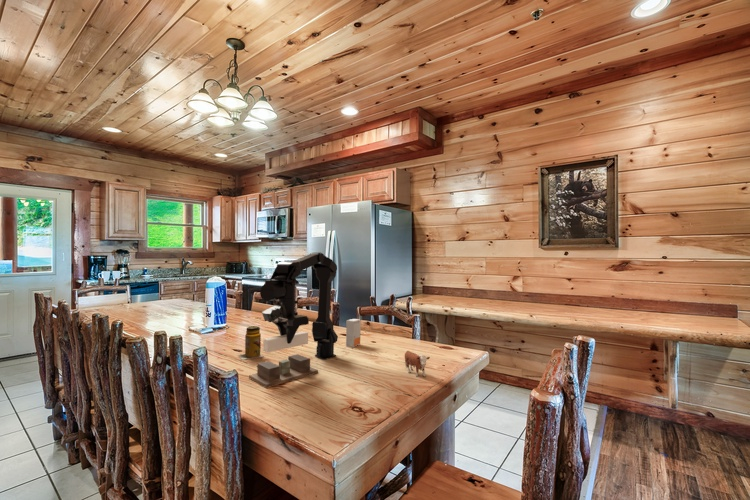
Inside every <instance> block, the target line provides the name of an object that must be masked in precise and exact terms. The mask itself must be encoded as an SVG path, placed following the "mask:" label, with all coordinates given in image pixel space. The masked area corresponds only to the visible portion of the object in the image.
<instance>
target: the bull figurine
mask: <svg viewBox="0 0 750 500" xmlns="http://www.w3.org/2000/svg"><path fill="white" fill-rule="evenodd" d="M430 358H431V357H430V356H426V355H425V354H416V353H415V352H412V351H409V350H406V352H405V353H404V360H405V361H404V365H405V368H406V369H407V373H408V374H411V371H414V369H413V368H415V371H416V373H415V377H417V378H418V377H419V370H420V371H422V376H423V377H424V378H426V377H427V375H426V372H425V371H426V370H425V368H426V367H425V366H426V365H427V364H426V363H427V360H429V359H430Z"/></svg>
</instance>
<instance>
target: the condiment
mask: <svg viewBox="0 0 750 500" xmlns="http://www.w3.org/2000/svg"><path fill="white" fill-rule="evenodd" d="M260 329H261V327H260V326H257V325H256V326H255V325H252V326H248V327H246V329H245V330H246V332H245V339H244V340H245V341H244V342H245V343H244V345H245V346H244V351H245V353H244V354H238V355H237V356H238V357H239V359H240V360H241V361H242V360H243V361H244V360H250V359H259V358H263V357H264V356H263V355H262V354H261V343H262V342H261V339H262V337H261V335H262V334H261V333H260V331H261V330H260Z"/></svg>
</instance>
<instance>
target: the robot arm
mask: <svg viewBox="0 0 750 500" xmlns="http://www.w3.org/2000/svg"><path fill="white" fill-rule="evenodd" d="M310 267H312V268H313V270H315V277H316V279H317V280H318V281H319V282H318V283H319V287H318V289H319V290H318V308H317V318H316V319H315V321H312V323H311V325H312V327H311V328H312V329H311V333H312V337H313V342H316V343H317V345H316V348H315V349H316V352H315V353H316V354H315V355H314V357H315V358H320V359H322V360H327V359H331V358H334V357H337V354H335V352H334V351H335V349H334V348H335V347H334V345H335V344H336V343H337V342H338V335H337V332H336V331H335V330H334V323H333V320H332V319H331V300H332V282H333V281H334V279H335V278H336V276H337V270H338V265H337V264H336V262H335V261H334V260H333V259H332V258H330V257H328V256H326V255H325V254H324V253H323V252H311V253H308V254H307V255H304V256H303V257H299V258H298V259H294V260H290V261H289V260H288V261H287V260H286V261H280V262H278V263H277V264H276V267H275V269H274V271H273V273H272V274H271V277H270V278H269V279H266V280H265V281H264V284H262V286H261V288H260V290H259V295H260V297H261V299H262V301H264V302H270V301H271V302H272V301H275V302H274V303H275V304H274V305H273V306H271V307H268V308H267V309H265V310H262V311H261V313H262V316H263V320H264V322H268V323H272V324H274V325H275V326H276V327H277V329H278V332H279V336H281V335H286V334H287V343H288V344H289V343H291V341H292V339H293V337H294V335H295V333H297V332H298V329H299V328H300V327H301V326H306V325H309V324H310V318H309V317H308V316H307V315H304V314H303V315H302V314H299V313H298V311H296V305H297V304H299V303H298V301H299V300H297V299H296V285H299V284H300V281H299V280H298V279H296V278H298V277H299V276H301V275H302V272H303V271H304V270H307V269H308V268H310Z"/></svg>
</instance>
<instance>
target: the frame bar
mask: <svg viewBox="0 0 750 500" xmlns="http://www.w3.org/2000/svg"><path fill="white" fill-rule="evenodd" d="M308 344H309V332H307V331H303V330H302V331H296V333H295V335H294V337H293V339H292V341H291V343H289V344H288V343H287V334H286V335H276V336H271V337H270V336H269V337H266V338H263V341H262V352H266V353H272V352H276V351H281V350H286V349H290V348H294V347H299V346H304V345H308Z"/></svg>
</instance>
